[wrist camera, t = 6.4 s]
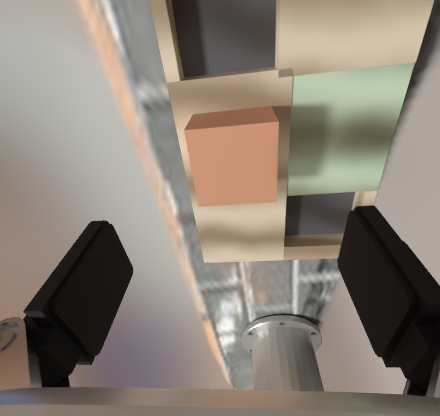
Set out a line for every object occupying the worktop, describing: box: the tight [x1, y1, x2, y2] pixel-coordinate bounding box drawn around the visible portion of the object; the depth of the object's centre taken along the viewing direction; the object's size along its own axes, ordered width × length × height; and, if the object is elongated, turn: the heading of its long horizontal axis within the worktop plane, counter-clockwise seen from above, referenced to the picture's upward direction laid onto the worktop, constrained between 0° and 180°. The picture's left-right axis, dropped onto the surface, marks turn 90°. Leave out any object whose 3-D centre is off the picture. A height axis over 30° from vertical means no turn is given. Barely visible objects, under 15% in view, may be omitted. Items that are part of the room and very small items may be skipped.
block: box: [184, 106, 279, 207], centre depth 19 cm, size 6×6×4 cm
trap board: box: [149, 0, 434, 263], centre depth 21 cm, size 27×17×2 cm, turn 6°
